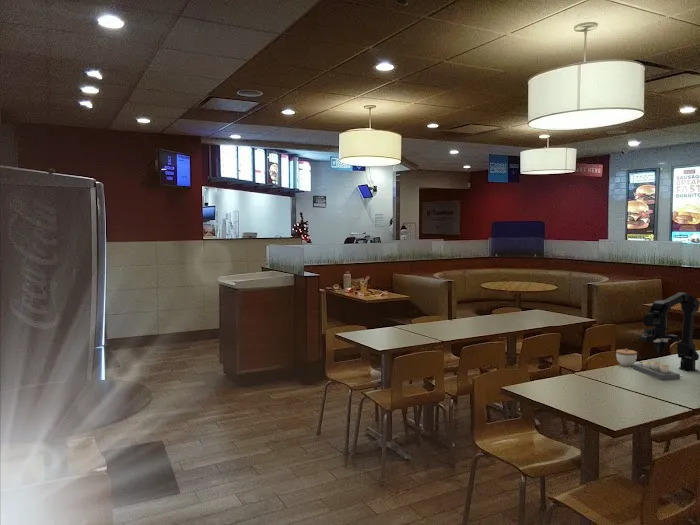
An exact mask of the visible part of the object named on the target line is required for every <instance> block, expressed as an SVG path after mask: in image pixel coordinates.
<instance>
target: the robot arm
mask: <svg viewBox="0 0 700 525" xmlns="http://www.w3.org/2000/svg"><path fill="white" fill-rule="evenodd" d="M678 304H680V306H681V307H680V308H681V310H682V312H683V324H682V325H683V326H682V334H681V338H680V336H679V335H676V334H667V331H669V327H667V321H668V320H667V317H670V314H668V313H669V312H670V311H671V310H672V307H674V306H676V305H678ZM699 308H700V301H699V299H698V298H696V297H694V296H692V295H690V294H689V293H687V292H682V291H681V292H677V293H675V294H674V295H672V296H669V297H668V298H665V299H661V300H659V299H658V300H655V301H654V302H653V303H652V304H651V307H650V309H649V310H648V313H646V315H645V316H644V317H643V319H642V323H643V325H644V326H645V328H643V334H641V335H640V336H639V338H640V339H639V341H642V342H644V343H653V345H654V346H655V349H656V352H657V355H662V353H663V351H664V350H665V348H666V347H667V345H668V344H670V341H673V342H675V343H676V345H677V346H676V352H677V353H676V354H677V357H678V358H680V364H679V365H680V367H678V369H680V370H683V371H686V372H694V371H695V372H697V371H698V369H696V361H698V360H699V358H700V355H699V353H698V352H697V351H696V345H695V343H694V341H693V340H694V329H695V328H694V327H695V326H694V324H695V316H696V313H697V312H698V311H699V310H700V309H699ZM649 327H651V329H650V328H649Z"/></svg>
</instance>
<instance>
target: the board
mask: <svg viewBox="0 0 700 525" xmlns="http://www.w3.org/2000/svg"><path fill="white" fill-rule="evenodd" d="M632 369H633V370H635V371H638V372H641V373H643V374H646V375H648V376H651V377H653V378H656V379H658V380H660V381H671V380H672V381H673V380H681V377H680V375H681V374H680V373H677V372H674V371H672V370H669V374H663V373H660V370H652V369H651V367H644V366H643V363H634V364H633V365H632Z"/></svg>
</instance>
